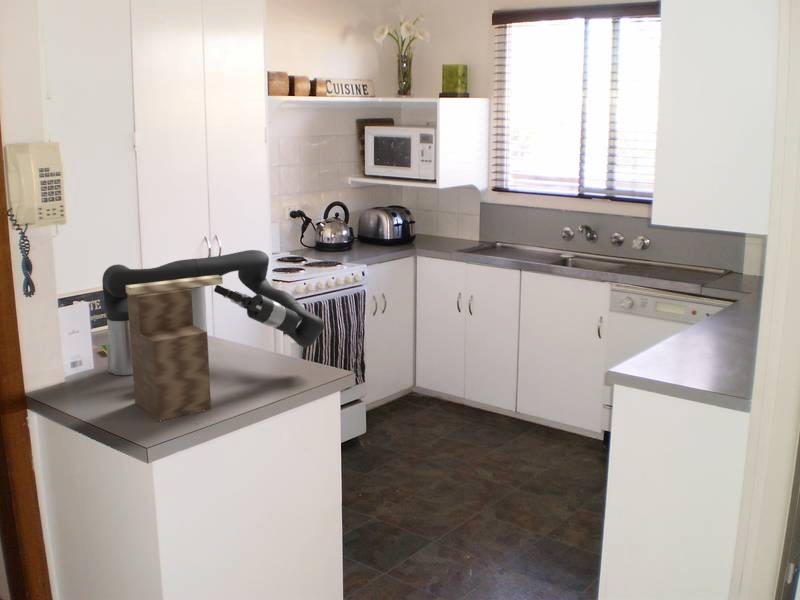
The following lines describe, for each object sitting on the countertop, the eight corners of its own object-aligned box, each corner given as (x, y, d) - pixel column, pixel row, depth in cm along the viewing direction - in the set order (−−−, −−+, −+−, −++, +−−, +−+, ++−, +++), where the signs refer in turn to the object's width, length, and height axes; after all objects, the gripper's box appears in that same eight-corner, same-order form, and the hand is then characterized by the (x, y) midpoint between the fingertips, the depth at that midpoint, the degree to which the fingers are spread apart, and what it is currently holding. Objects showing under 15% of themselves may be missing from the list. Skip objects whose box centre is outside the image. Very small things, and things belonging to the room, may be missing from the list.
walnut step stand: (185, 392, 247) (179, 284, 240) (211, 409, 234) (205, 295, 226) (135, 403, 238) (126, 291, 231) (158, 421, 225) (150, 303, 218)
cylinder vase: (169, 360, 277) (164, 284, 271) (169, 349, 289) (165, 276, 283) (208, 357, 280) (204, 283, 274) (207, 346, 292) (204, 275, 286)
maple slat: (217, 281, 243) (217, 274, 243) (222, 283, 240) (222, 277, 240) (126, 292, 229) (125, 285, 229) (129, 295, 227) (129, 287, 226)
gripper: (260, 295, 259) (216, 274, 249) (283, 304, 248) (238, 283, 238) (250, 317, 259) (205, 297, 249) (272, 328, 248) (227, 307, 238)
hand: (222, 290), depth 243 cm, fingers open, 8 cm apart
